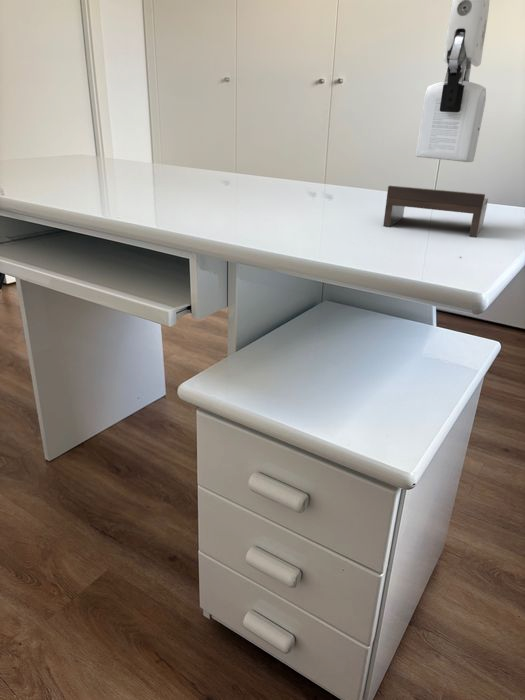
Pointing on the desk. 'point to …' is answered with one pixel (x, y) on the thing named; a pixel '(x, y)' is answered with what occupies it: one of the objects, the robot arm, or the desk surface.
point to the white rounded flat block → (451, 124)
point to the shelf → (435, 204)
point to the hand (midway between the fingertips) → (452, 110)
